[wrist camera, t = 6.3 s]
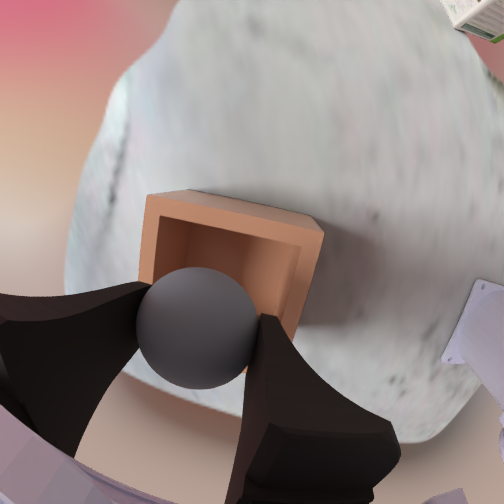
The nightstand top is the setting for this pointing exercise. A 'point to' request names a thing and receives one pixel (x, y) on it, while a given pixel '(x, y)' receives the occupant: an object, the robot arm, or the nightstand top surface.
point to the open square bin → (234, 247)
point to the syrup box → (477, 17)
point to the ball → (197, 328)
